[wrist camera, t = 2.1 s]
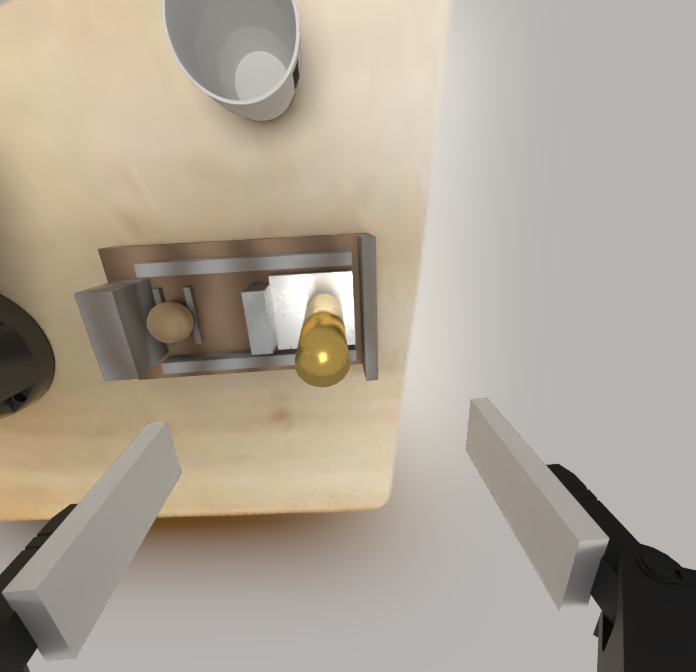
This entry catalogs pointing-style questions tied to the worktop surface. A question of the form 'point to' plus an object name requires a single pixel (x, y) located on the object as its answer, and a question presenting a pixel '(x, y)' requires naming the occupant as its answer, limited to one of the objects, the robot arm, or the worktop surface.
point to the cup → (238, 51)
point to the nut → (170, 322)
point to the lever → (304, 321)
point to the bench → (215, 303)
